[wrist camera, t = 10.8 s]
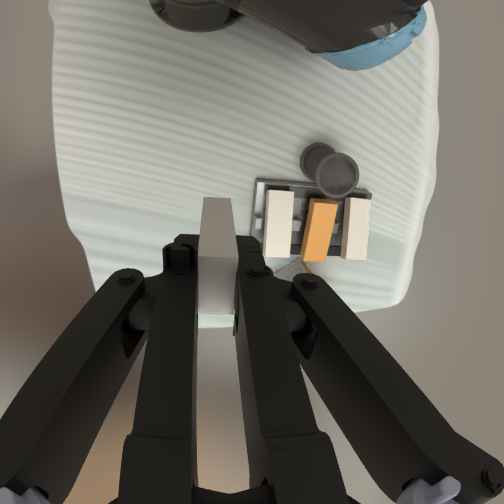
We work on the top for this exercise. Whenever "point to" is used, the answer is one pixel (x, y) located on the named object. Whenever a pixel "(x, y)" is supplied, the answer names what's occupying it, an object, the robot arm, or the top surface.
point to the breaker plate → (300, 211)
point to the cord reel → (329, 170)
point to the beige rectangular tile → (355, 228)
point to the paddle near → (278, 223)
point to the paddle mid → (318, 229)
